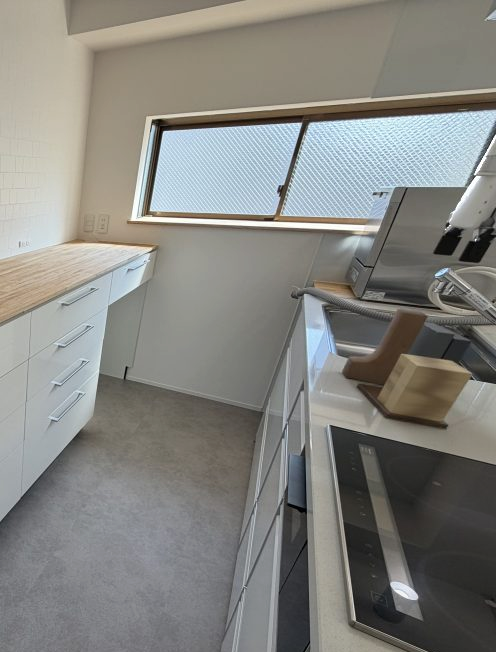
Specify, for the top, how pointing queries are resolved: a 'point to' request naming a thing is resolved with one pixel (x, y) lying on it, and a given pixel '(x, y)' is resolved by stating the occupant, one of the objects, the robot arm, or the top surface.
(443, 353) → the grey books
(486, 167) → the robot arm
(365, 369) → the brown l-shaped piece
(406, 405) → the wood cube on plate
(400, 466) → the top surface
